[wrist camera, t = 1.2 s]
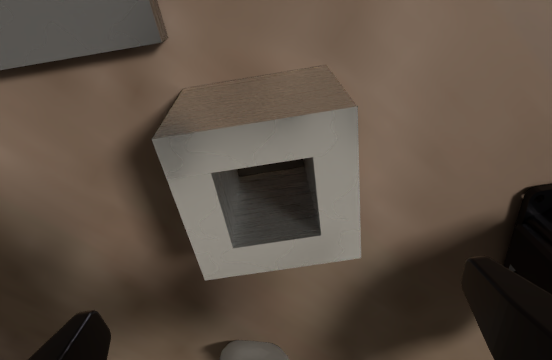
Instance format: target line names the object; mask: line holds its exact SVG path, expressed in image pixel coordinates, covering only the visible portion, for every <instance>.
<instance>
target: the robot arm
mask: <svg viewBox="0 0 552 360" xmlns="http://www.w3.org/2000/svg"><path fill="white" fill-rule="evenodd" d="M461 283H462V289H463V292H464V294H465V296H466V299H467V301H468V303H469V305H470V308H471V310H472V312H473V314H474V317H475V319H476V321H477V323H478V326H479V328H480V330H481V332H482V335H483V337H484V339H485V341H486V344H487V346H488V348H489V350H490V352H491V354H492V356H493V358H494V360H552V184H550V185H544V186H537V187H533V188H531V189H529V190H528V191H527V192H526V193H525V195H524V198H523V202H522V205H521V209H520V212H519V215H518V219H517V222H516V226H515V229H514V233H513V236H512V240H511V243H510V247H509V250H508V253H507V257H506V260H505V264H504V266H503V265H501V264H499V263H498V262H496V261H494V260H493V259H491V258H489V257H487V256H477V257H470V258H468V259H467V260H466V261H465V266H464V271H463V276H462V282H461ZM110 340H111V333H110V329H109V328H108V326H107V325H106V323H105V322H104V320H103V319H102V317H101V316H100V314H99V313H98V312H97V311H95V310H91V311H84V312H79V313H77V314H76V315H75V316H74V317H72V318H71V319H70V320H69V321H68V322H67V323H66V324H65V325H64V326H63V327H62V328H61V329H60V330H59V331H58V332H57V333H56V334H54V335H53V336H52V337H51V338H50V339H49V340H48V341H47V342H46V343H45V344H44V345H43V346H42V347H41V348H40V349H39V350H38V351H36V352H35V353H34V354H33V355H32V356H31V357H30V358H29V359H28V360H107V356H108V351H109V346H110Z"/></svg>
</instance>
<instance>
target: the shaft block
mask: <svg viewBox="0 0 552 360" xmlns="http://www.w3.org/2000/svg"><path fill="white" fill-rule="evenodd" d="M167 38H168V36H167V33H166V29H165V26H164V23H163V19H162V16H161V12H160V9H159V6H158V2H157V0H0V70H4V69H10V68H16V67H22V66H28V65H33V64H39V63H45V62H51V61H57V60H63V59H68V58H74V57H80V56H86V55H92V54H98V53H104V52H109V51H115V50H121V49H127V48H133V47H139V46H144V45H150V44H156V43H162V42H163V41H165V40H166V39H167Z"/></svg>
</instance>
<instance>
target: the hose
mask: <svg viewBox="0 0 552 360" xmlns="http://www.w3.org/2000/svg"><path fill="white" fill-rule="evenodd" d="M220 360H289V358H288V356H287V355H286V354H285V353H284V351H283V350H282V349H281V348H280V347H279V346H277V345H275V344H273V343H267V342H257V341H243V340H235V341H232V342H230V343H228V345H227V346H226V347H225V348H224V349H223V350H222V352H221V356H220Z"/></svg>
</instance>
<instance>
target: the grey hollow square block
mask: <svg viewBox="0 0 552 360" xmlns="http://www.w3.org/2000/svg"><path fill="white" fill-rule="evenodd" d="M152 142H153V144H154V147H155V150H156V152H157V155H158V158H159V160H160V163H161V166H162V168H163V171H164V173H165V176H166V179H167V181H168V184H169V187H170V189H171V192H172V195H173V197H174V200H175V203H176V205H177V208H178V210H179V213H180V216H181V218H182V221H183V224H184V226H185V229H186V232H187V234H188V237H189V240H190V242H191V245H192V247H193V250H194V253H195V255H196V258H197V261H198V263H199V266H200V269H201V271H202V274H203V277H204V279H205V280H212V279H219V278H226V277H233V276H240V275H247V274H254V273H261V272H268V271H274V270H281V269H288V268H295V267H302V266H309V265H316V264H323V263H330V262H337V261H344V260H351V259H358V258H361V233H360V190H359V148H358V106H357V105H356V104H355V102H354V101H353V100H352V98H351V97H350V96H349V94H348V93H347V92H346V90H345V89H344V88H343V86H342V85H341V84H340V82H339V81H338V80H337V78H336V77H335V76H334V74H333V73H332V72H331V70H330V69H329V68H328V66H327V65H324V66H318V67H311V68H305V69H299V70H293V71H287V72H281V73H275V74H269V75H263V76H257V77H251V78H245V79H239V80H233V81H227V82H221V83H215V84H209V85H203V86H197V87H191V88H185V89H183V90H182V92H181V93H180V95H179V96H178V98H177V100H176V101H175V103H174V104H173V106H172V108H171V109H170V111H169V112H168V114H167V116H166V117H165V119H164V120H163V122H162V124H161V125H160V127H159V128H158V130H157V132H156V133H155V135H154V136H153V138H152ZM298 159H304V167H300V168H293V169H287V170H280V171H274V172H267V173H261V174H254V175H248V176H241V177H239V174H238V170H237V169H240V168H246V167H253V166H259V165H265V164H272V163H278V162H285V161H291V160H298Z"/></svg>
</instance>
